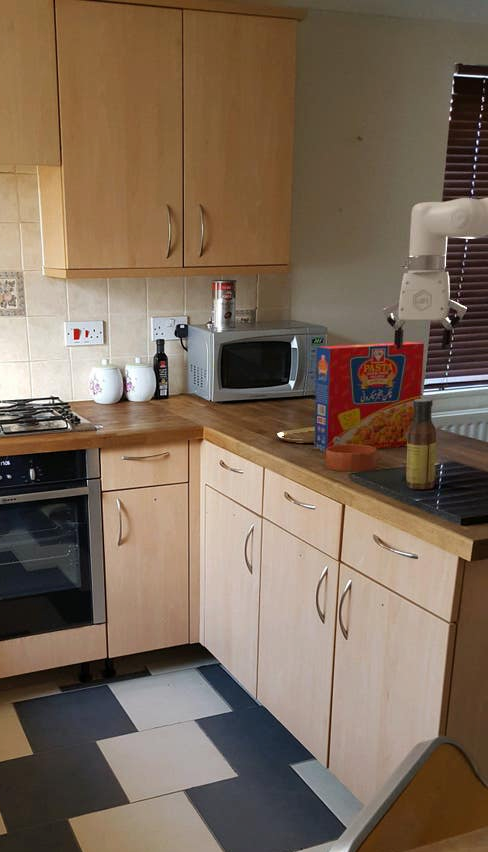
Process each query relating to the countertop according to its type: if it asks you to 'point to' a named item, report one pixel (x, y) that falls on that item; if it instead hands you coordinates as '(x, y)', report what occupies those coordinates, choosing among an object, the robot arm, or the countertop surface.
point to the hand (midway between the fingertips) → (421, 348)
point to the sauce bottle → (421, 447)
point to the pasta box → (366, 394)
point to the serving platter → (296, 432)
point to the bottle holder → (350, 457)
